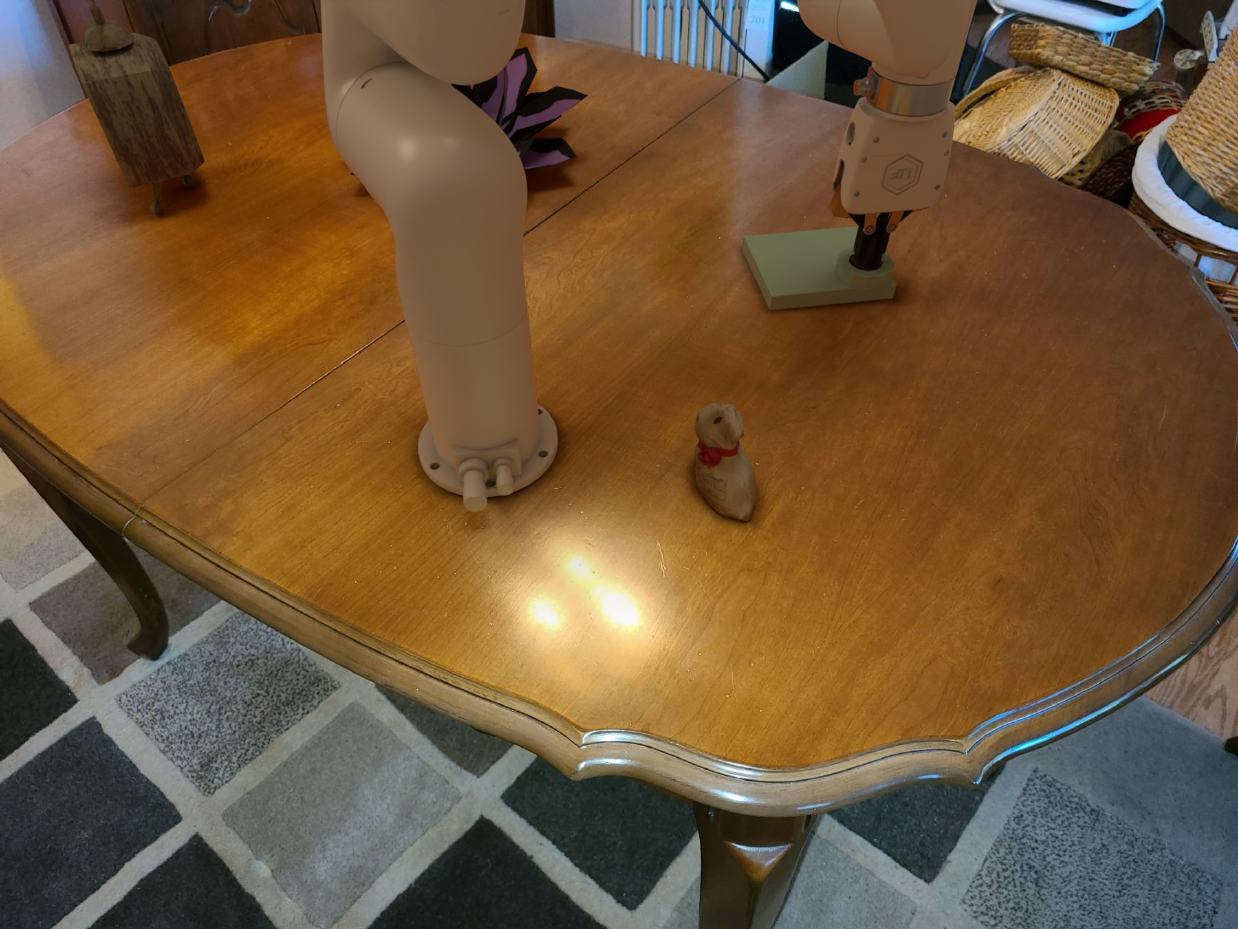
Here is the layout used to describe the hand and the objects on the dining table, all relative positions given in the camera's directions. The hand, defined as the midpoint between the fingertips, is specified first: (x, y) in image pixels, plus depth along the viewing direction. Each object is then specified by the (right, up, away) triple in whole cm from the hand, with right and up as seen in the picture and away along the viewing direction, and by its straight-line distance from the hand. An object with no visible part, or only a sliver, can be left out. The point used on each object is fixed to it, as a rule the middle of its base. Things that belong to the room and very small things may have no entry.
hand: (867, 259), depth 91 cm
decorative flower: (-47, +19, +23) cm, 56 cm away
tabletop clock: (-85, +13, +18) cm, 87 cm away
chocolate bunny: (-18, -24, -17) cm, 35 cm away
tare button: (0, -1, +1) cm, 2 cm away
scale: (-5, -1, +5) cm, 7 cm away
